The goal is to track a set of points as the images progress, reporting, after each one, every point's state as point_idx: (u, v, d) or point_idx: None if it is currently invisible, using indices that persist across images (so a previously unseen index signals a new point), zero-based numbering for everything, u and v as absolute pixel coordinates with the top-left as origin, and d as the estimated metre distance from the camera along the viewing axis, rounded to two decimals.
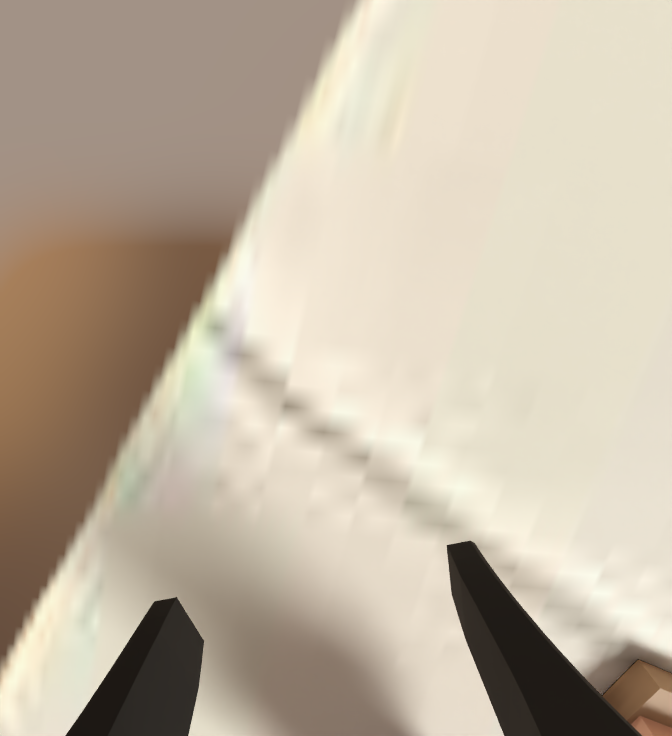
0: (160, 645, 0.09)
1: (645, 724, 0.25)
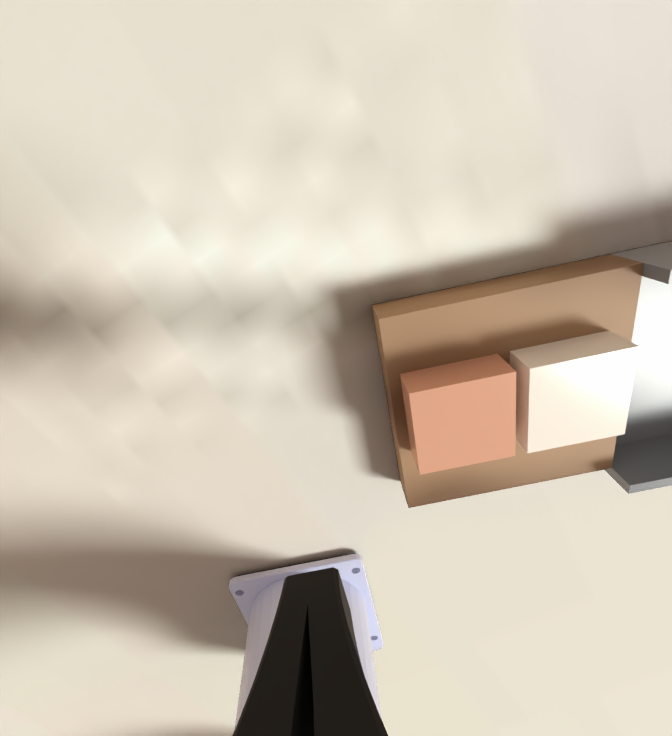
0: (309, 617, 0.09)
1: (402, 380, 0.15)
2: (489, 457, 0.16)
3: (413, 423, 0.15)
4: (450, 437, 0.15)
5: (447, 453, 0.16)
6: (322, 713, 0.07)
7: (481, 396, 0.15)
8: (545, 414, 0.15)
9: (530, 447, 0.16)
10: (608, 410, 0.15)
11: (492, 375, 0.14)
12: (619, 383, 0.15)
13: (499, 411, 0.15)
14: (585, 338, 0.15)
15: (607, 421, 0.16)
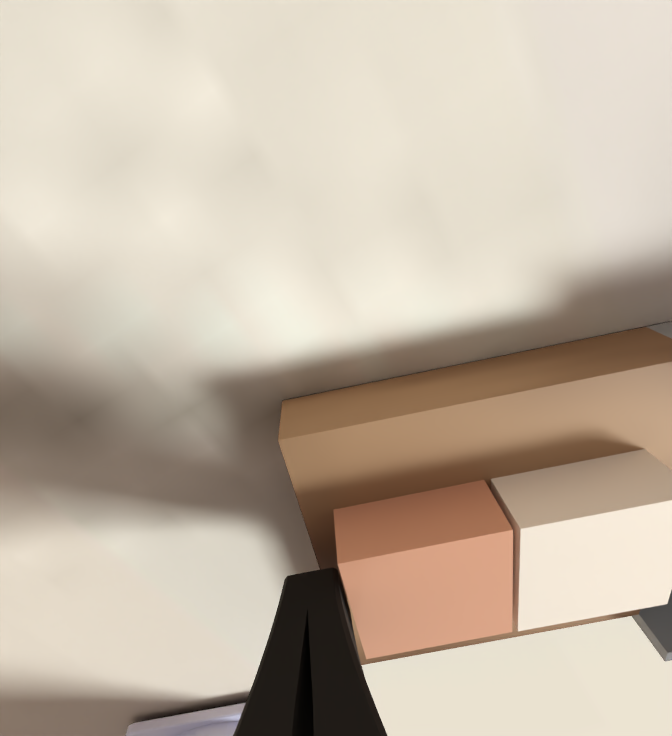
0: (309, 617, 0.09)
1: (335, 524, 0.10)
2: (472, 635, 0.10)
3: (349, 599, 0.09)
4: (410, 614, 0.10)
5: (407, 633, 0.10)
6: (322, 713, 0.07)
7: (457, 564, 0.09)
8: (544, 584, 0.10)
9: (521, 623, 0.10)
10: (644, 577, 0.10)
11: (475, 534, 0.09)
12: (664, 543, 0.09)
13: (486, 580, 0.09)
14: (608, 463, 0.10)
15: (642, 590, 0.10)
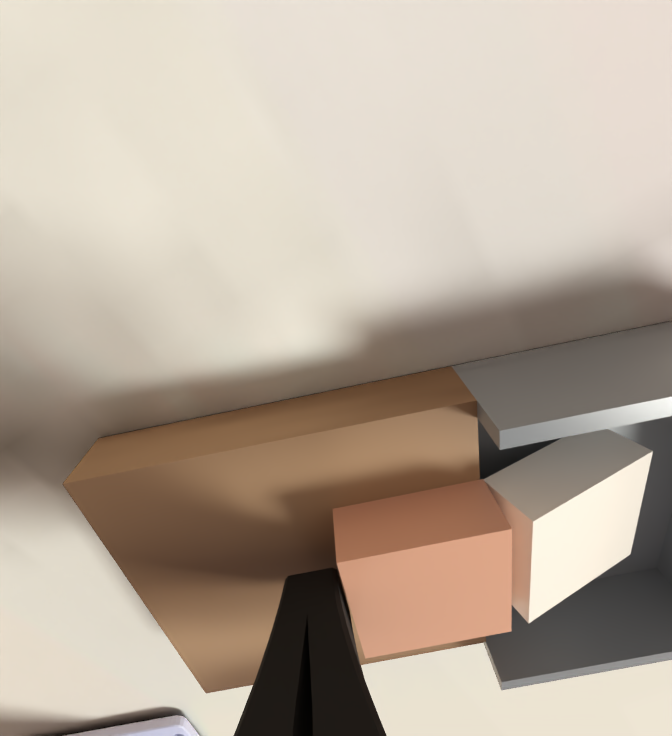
0: (310, 617, 0.09)
1: (334, 523, 0.10)
2: (471, 634, 0.10)
3: (348, 598, 0.09)
4: (409, 614, 0.10)
5: (405, 632, 0.10)
6: (321, 713, 0.07)
7: (456, 563, 0.09)
8: (549, 569, 0.10)
9: (532, 615, 0.11)
10: (617, 535, 0.11)
11: (474, 533, 0.09)
12: (630, 501, 0.10)
13: (485, 580, 0.09)
14: (572, 441, 0.11)
15: (615, 548, 0.11)
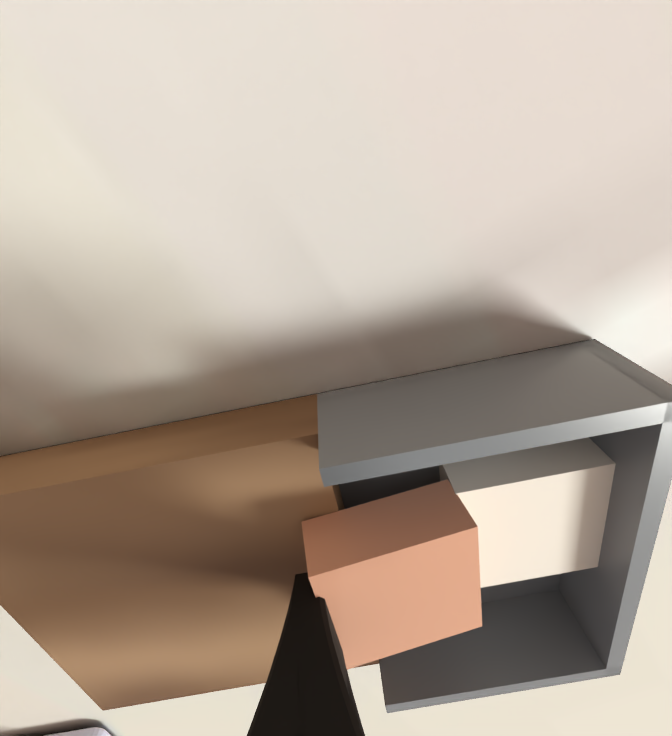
0: (321, 615, 0.09)
1: (303, 537, 0.10)
2: (445, 634, 0.11)
3: None
4: (383, 620, 0.10)
5: (381, 640, 0.10)
6: (300, 717, 0.07)
7: (427, 565, 0.09)
8: (483, 546, 0.11)
9: None
10: (574, 540, 0.11)
11: (442, 533, 0.09)
12: (588, 508, 0.10)
13: (455, 579, 0.10)
14: None
15: (573, 553, 0.11)
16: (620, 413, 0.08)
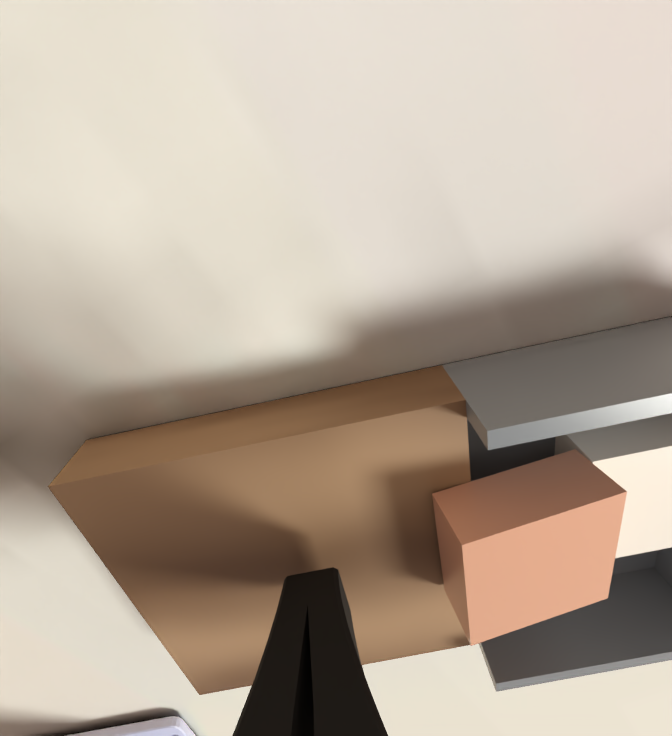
0: (309, 617, 0.09)
1: (440, 508, 0.10)
2: (572, 606, 0.10)
3: (465, 583, 0.09)
4: (520, 592, 0.10)
5: (513, 612, 0.10)
6: (322, 713, 0.07)
7: (572, 532, 0.09)
8: None
9: None
10: None
11: (591, 499, 0.09)
12: None
13: (594, 547, 0.10)
14: None
15: None
16: None
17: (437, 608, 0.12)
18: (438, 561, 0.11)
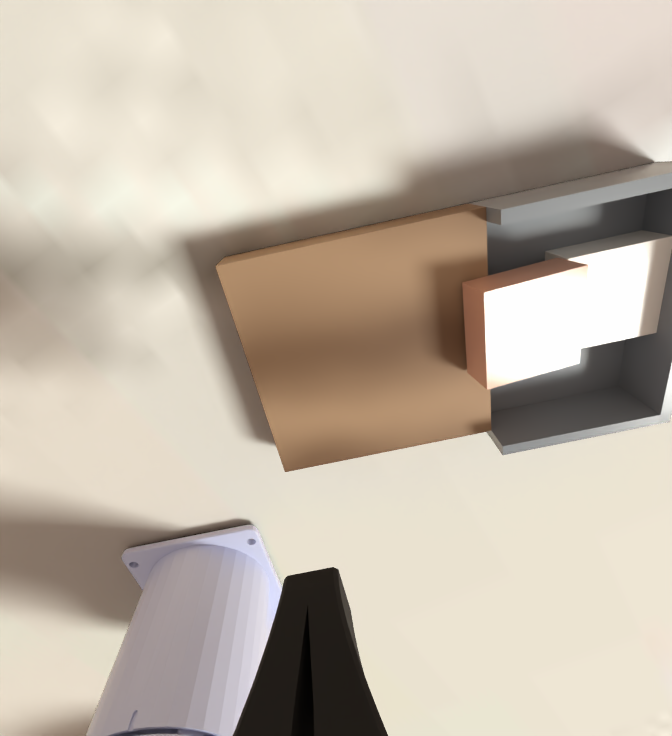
0: (309, 617, 0.09)
1: (468, 286, 0.15)
2: (555, 366, 0.16)
3: (485, 328, 0.14)
4: (520, 344, 0.15)
5: (515, 363, 0.15)
6: (322, 713, 0.07)
7: (553, 295, 0.14)
8: None
9: None
10: (641, 306, 0.16)
11: (565, 270, 0.14)
12: (653, 276, 0.15)
13: (568, 311, 0.15)
14: (619, 236, 0.16)
15: (640, 318, 0.16)
16: None
17: (461, 393, 0.17)
18: (463, 347, 0.16)
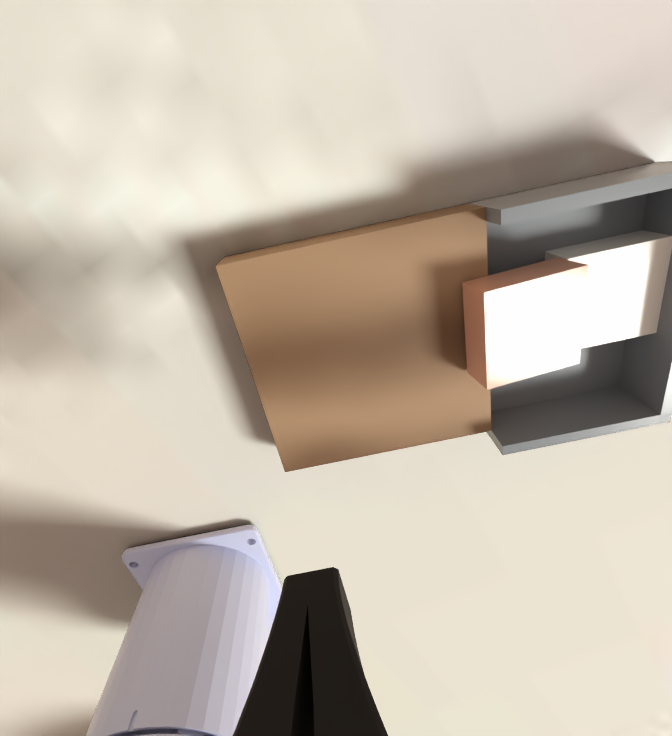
0: (309, 617, 0.09)
1: (468, 286, 0.15)
2: (555, 366, 0.16)
3: (485, 328, 0.14)
4: (520, 344, 0.15)
5: (515, 363, 0.15)
6: (322, 713, 0.07)
7: (553, 295, 0.14)
8: None
9: None
10: (641, 306, 0.16)
11: (565, 270, 0.14)
12: (653, 276, 0.15)
13: (568, 311, 0.15)
14: (619, 236, 0.16)
15: (640, 318, 0.16)
16: None
17: (461, 393, 0.17)
18: (463, 347, 0.16)
